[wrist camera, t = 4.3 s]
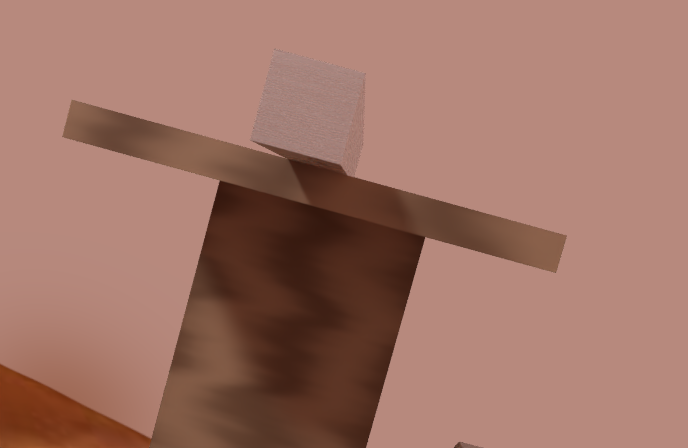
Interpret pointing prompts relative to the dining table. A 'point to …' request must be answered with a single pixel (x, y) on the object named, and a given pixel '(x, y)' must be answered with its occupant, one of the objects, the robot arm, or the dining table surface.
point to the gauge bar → (312, 113)
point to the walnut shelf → (293, 288)
